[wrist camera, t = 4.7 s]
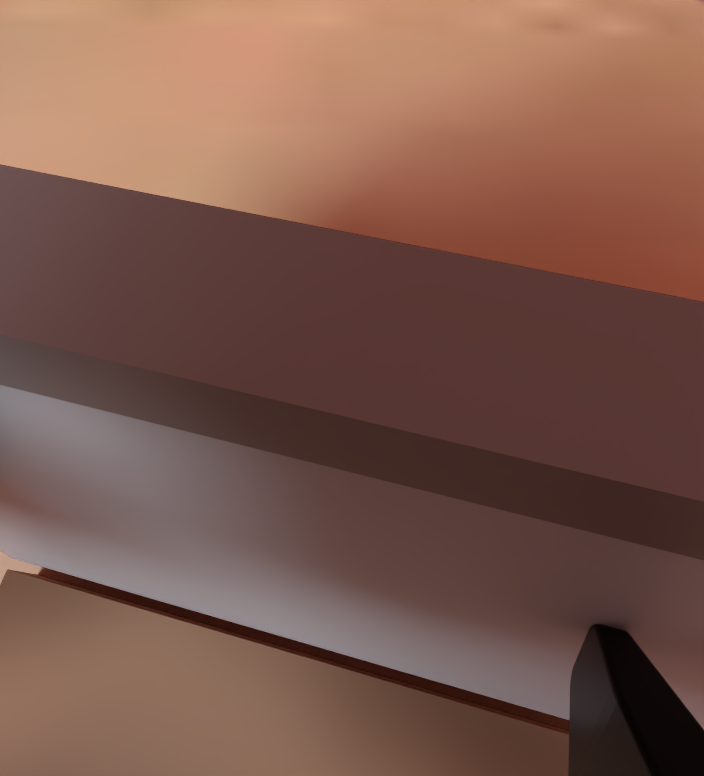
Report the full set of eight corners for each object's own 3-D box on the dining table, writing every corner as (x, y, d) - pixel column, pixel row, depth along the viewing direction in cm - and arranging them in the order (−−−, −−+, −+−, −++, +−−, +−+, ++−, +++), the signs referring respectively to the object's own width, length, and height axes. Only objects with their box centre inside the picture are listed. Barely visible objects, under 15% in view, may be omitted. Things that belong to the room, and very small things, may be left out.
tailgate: (635, 746, 14) (1431, 673, 4) (8, 563, 17) (-610, 189, 6) (638, 664, 15) (1287, 416, 5) (43, 500, 18) (-441, 78, 7)
